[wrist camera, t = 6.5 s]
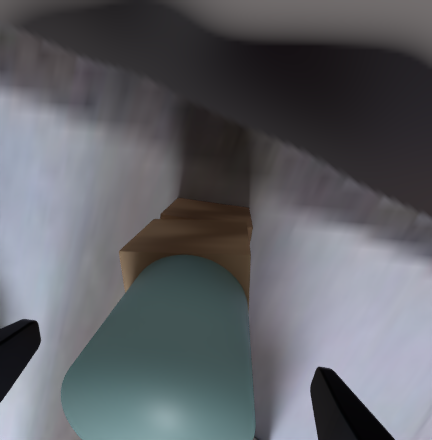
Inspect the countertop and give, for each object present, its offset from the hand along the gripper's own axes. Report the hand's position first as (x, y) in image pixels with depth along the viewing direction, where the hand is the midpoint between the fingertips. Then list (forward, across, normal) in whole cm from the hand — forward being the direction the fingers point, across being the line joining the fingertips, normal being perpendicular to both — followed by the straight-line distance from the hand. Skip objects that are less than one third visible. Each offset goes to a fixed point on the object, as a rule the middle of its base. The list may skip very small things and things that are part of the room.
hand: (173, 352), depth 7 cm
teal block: (+2, 0, 0) cm, 2 cm away
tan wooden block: (+6, 0, 0) cm, 6 cm away
